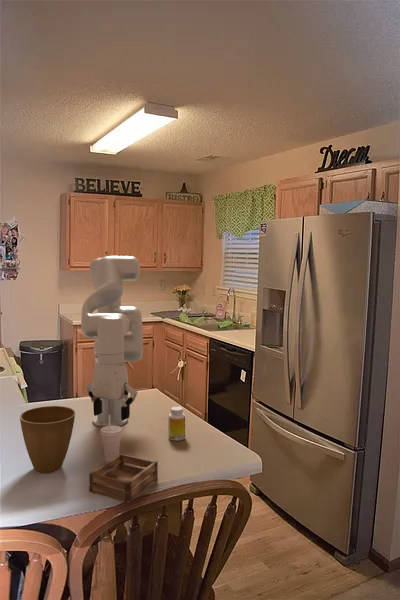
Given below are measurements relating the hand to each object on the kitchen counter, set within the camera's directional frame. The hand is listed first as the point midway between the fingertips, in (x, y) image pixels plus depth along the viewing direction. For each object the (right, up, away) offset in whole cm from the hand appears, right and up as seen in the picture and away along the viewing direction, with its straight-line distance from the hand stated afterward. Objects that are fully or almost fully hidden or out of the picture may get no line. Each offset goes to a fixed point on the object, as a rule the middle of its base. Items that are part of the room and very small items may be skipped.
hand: (111, 416), depth 140 cm
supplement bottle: (+18, -12, +20) cm, 29 cm away
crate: (+6, -15, -13) cm, 21 cm away
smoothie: (0, -14, +2) cm, 14 cm away
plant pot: (-17, -14, -3) cm, 22 cm away
